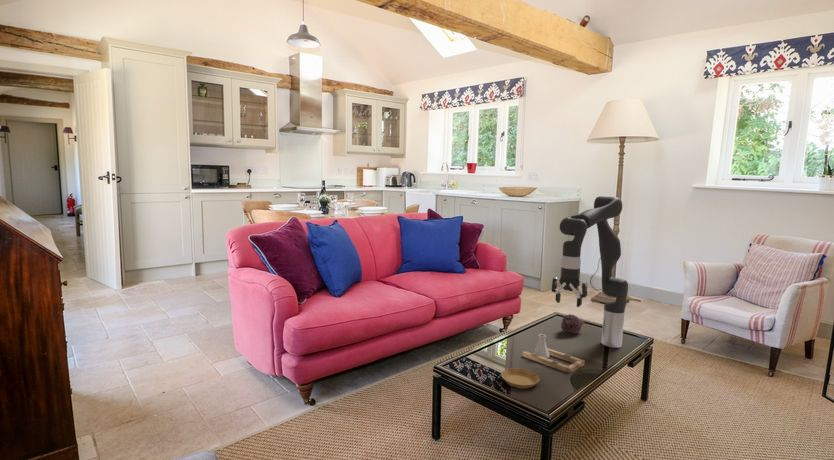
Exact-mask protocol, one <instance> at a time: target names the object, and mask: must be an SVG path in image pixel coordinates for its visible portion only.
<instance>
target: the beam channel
mask: <svg viewBox="0 0 834 460" xmlns="http://www.w3.org/2000/svg"><path fill="white" fill-rule="evenodd" d="M547 350H548V353H549V356H552V357H555V358H557V359H561V360H563V361H567V362H569V363H571V364H569V365H566V364H564V363H561V362H559V361H557V360H552V359H551V358H550V359H549V358H544V357H541V356H538V355H535V354H533V352H530V351H527V350H524V351H523V352H522V357H524V358H526V359H529V360H532V361H534V362H537V363H539V364H543V365H545V366H549V367H550V368H553V369H557V370H559V371H562V372H566V373H568V374H572V373H573V372H575V371H577V370H578V369H580V368H582V367H583V366H585V364H586V360H584V359H582V358H579V357H576V356H573V355H571V354H570V353H569V354H568V353H563V352H560V351H557V350H554V349H551V348H549V347H547Z"/></svg>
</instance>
